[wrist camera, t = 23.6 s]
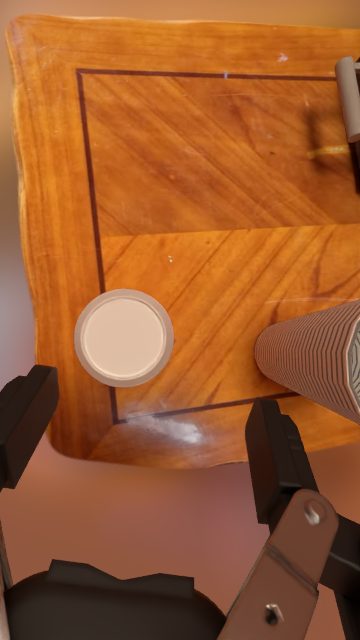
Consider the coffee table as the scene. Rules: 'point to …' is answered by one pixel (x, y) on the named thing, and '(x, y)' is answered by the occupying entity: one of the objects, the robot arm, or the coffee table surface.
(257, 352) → the cup
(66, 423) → the coffee table surface
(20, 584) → the robot arm
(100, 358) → the beverage can
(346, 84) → the pull-out drawer
